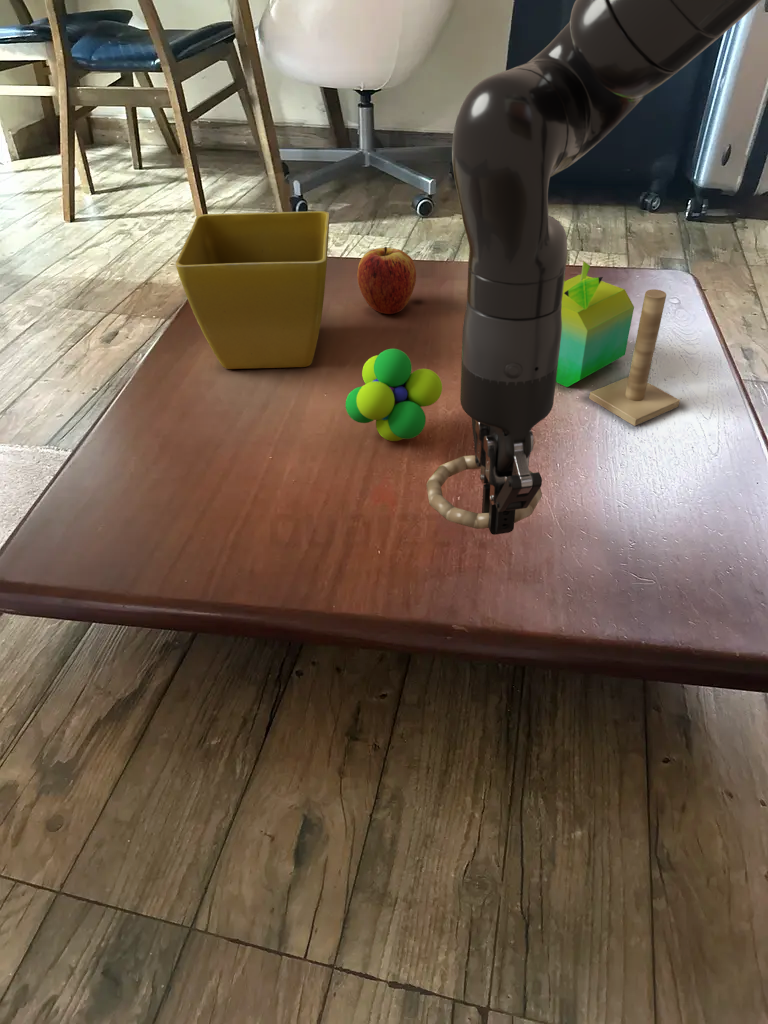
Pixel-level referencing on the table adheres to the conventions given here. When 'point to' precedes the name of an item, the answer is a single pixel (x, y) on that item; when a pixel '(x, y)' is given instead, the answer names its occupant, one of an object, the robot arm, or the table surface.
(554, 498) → the table surface
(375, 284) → the apple
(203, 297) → the flower pot
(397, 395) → the molecule model
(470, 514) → the ring
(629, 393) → the post
